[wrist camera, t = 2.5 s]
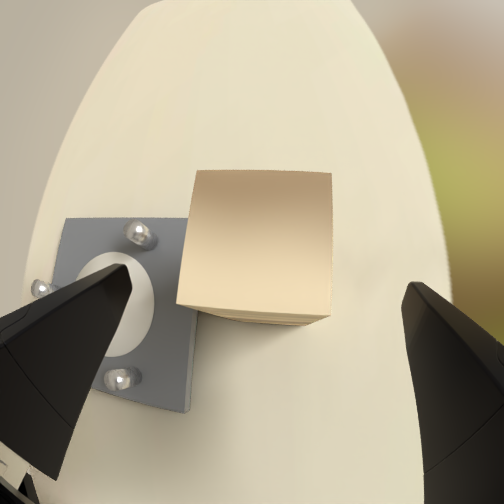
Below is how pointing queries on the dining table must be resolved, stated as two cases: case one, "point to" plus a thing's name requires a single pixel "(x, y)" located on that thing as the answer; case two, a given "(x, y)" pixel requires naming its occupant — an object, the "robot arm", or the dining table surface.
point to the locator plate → (136, 305)
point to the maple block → (259, 246)
